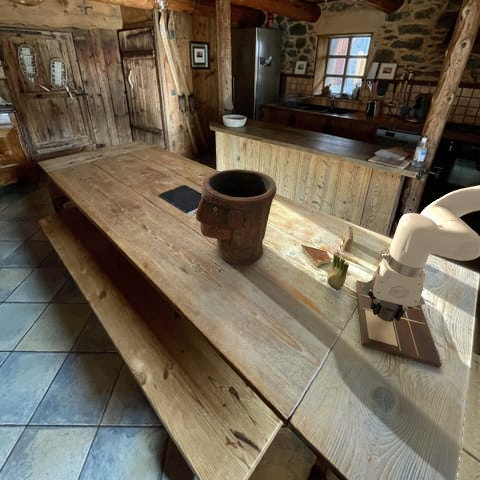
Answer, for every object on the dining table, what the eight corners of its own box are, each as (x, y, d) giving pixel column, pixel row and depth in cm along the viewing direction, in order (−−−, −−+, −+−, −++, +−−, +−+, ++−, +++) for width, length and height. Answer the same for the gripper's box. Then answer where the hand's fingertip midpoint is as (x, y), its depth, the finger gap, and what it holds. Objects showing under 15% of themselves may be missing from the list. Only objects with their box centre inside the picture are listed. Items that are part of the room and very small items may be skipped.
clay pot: (188, 242, 107) (182, 175, 94) (251, 223, 119) (253, 162, 106) (211, 288, 87) (208, 211, 74) (284, 260, 99) (292, 189, 86)
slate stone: (392, 308, 73) (396, 298, 71) (396, 324, 69) (400, 313, 67) (373, 304, 74) (377, 293, 73) (376, 319, 70) (380, 308, 69)
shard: (300, 247, 106) (301, 244, 105) (316, 243, 108) (317, 240, 107) (316, 266, 96) (316, 262, 96) (333, 261, 99) (334, 258, 98)
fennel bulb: (344, 291, 87) (351, 264, 81) (329, 292, 86) (336, 264, 81) (338, 278, 92) (344, 251, 87) (324, 278, 92) (329, 251, 86)
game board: (415, 297, 85) (417, 293, 84) (439, 368, 66) (441, 364, 65) (355, 283, 90) (356, 279, 89) (362, 345, 71) (363, 341, 70)
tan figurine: (337, 253, 103) (337, 235, 113) (348, 258, 102) (347, 238, 112) (344, 240, 99) (343, 222, 109) (356, 244, 98) (354, 226, 109)
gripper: (368, 264, 63) (352, 316, 71) (451, 283, 58) (424, 335, 66) (364, 244, 69) (350, 294, 77) (439, 259, 65) (416, 310, 73)
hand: (385, 312), depth 72 cm, fingers closed on slate stone, 4 cm apart
